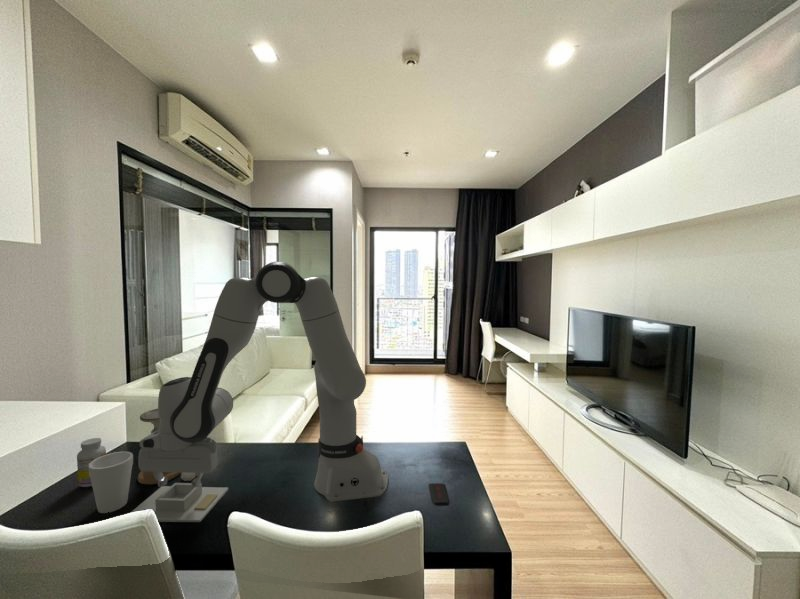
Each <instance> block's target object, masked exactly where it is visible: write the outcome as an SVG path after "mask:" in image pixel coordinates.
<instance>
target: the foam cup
mask: <svg viewBox="0 0 800 599" xmlns="http://www.w3.org/2000/svg"><path fill="white" fill-rule="evenodd" d="M133 465H134V454H133V452H130V451H118V452H116V451H114V452H110V453H108V454H107V453H106V455H104V456H101V457H99V458H97V459H95V460H93V461H92V462H91V463H89V476H90V478H91V483H92V486H91V487H92V491H93V496H94V500H95V504H96V505H95V506H96V509H97V512H98V513H100V514H108V512H109V513H113V512H115V511H117V510H120V509H121V508H123V507H125V506H126V504H128V499H129V492H130V484H131V476H132V469H133Z"/></svg>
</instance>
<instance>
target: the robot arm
mask: <svg viewBox="0 0 800 599" xmlns="http://www.w3.org/2000/svg"><path fill="white" fill-rule="evenodd" d="M267 302H271V303H273V304H275V303H276V304H295V306H296V308H297V310H298V313H299V317H300V320H301V323H302V327H303V329H304V332H305V336H306V339H307V341H308V342H307V343H308V346H309V347H310V350H311V352H312V353H313V356H314V358H315V363H314V367H313V370H314V375H315V386H316V388H315V389H316V394H317V395H316V396H317V404H318V411H319V413H318V414H319V438H318V442H317V454H318V466H317V470H316V472H317V473H316V476H315V480H314V483H313V484H314V485H313V486H314V487H313V488H314V489H315V491H316V492H317V493H318V494H321V495H322V496H324V497H325V499H326V500H327V501H328V502H329V503H330V502H340V501H349V500H350V501H351V500H357V499H364V498H365V499H368V498H376V497H380V496H382V495H383V494H384V493H385V492H386V490H387V489H388V486H389V475H388V472H387V471H386V469H384V468H381V463H380V460H379V458H378V457H377V456H376V455H375V454H374V453H372V452H371V451H369V450H368V449H366V448H365V447H364V438H363V437H364V436H363V435H361V437H360V436H359V435H358V434H357V416H358V415H357V414H358V413H357V408H356V405H355V400H356V399H358V398H360V397H361V396H362V394H363V393H364V392H365V389H366V386H367V379H366V374H364V372H363V370H362V367H361V366H360V363H359V360H358V359H357V356H356V353H355V351H354V349H353V347H352V344H351V343H350V340H349V339H348V338H349V337H348V335H347V333H346V329H345V326H344V324H343V320H342V316H341V312H340V309H339V305H338V303H337V300H336V298H335V295H334V293H333V291H332V289H331V287H330V284H329V283H328V281H327V280H326V279H324V278H322V277H320V276H319V277H318V276H311V277H307V278H306V277H305V278H304V277H302V276H301V275H300V274H299V273H298V271H297V270H296V269H295V268H294V267H293V266H292V265H291V264H289V263H287V262H284V261H272V262H269V263H266V264H264V265H263V266H262V267H261V268H260V269H259V270H258V271H257V274H256V277H254V278H249V277H243V276H239V277H238V276H237V277H234V278H233V277H232V278H231V279H229V280H228V281H226V283H225V285H224V286H223V287H222V290H221V292H220V294H219V297H218V299H217V303H216V305H215V308H214V311H213V315H212V318H211V322H210V325H209V328H208V332H207V335H206V338H205V341H204V343H203V347H202V349H201V352H200V354H199V356H198V359H197V360H196V363H195V367H194V369H193V371H192V375H191V377H190V376H184V377H183V376H182V377H179V378H176V379H172V380H170V381H167V382H165V383H163V384H162V386H161V387H160V389H159V392H158V398H157V400H158V401H157V409H158V416H159V418H160V425H159V430H158V431H155V432H154V433H152V434H151V433H150V434H148V435H147V436H145V437H143V438H142V439H140V441H139V447H140V449H139V452H138V457H137V458H138V460H137V462H138V463H137V464H138V468H139V470H140V472H141V471H142V472H153V475H154V477H155V478H156V480H157V481H158V484H157V486H158V487H162V486H167V485H168V481H167V477H164V475H163V473H162V472H186V473H195V477H194V479H193V480H191V483H192V487H198V486H199V485H200V484H201V483H202V482H201V480H202V477H203V475H204V474H210V473H211V472H212V471H213V470H215V468H216V467H217V466H218V463H219V461H218V460H219V459H218V453H217V452H218V451H217V443H216V441H215V439H212V438H211V437H209V435H210V434H211V433H212V432H213V430H215V428H216V427H217V426H218V425H220V424H221V423H222V422H223V421H224V420H225V419H226V418H227V417H228V416H229V415H230V414H231V412H232V410H233V408H234V399H233V397H232V395H231V394H230V392H229V391H228V390H226V389H224V388H222V387H219V384H220V381H221V378H222V375H223V373H224V371H225V369H226V368H227V366H228V365H229V363H230V362H231V361H232V360H233V359H234V358H235V357H236V356H237V355H238V353H240V352H241V351H243V349H244V348H246V347H247V346H248V344H249V342H250V340H251V338H252V337H253V335H254V333H255V330H256V326H257V323H258V320H259V315H260V312H261V309H262V308H263V305H264V304H265V303H267Z"/></svg>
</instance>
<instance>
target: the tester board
mask: <svg viewBox="0 0 800 599" xmlns="http://www.w3.org/2000/svg"><path fill="white" fill-rule="evenodd" d="M228 491H229V487H220V486H219V487H215V486H214V487H213V486H203V483H202V482H201V484H200V485H199V486H198V487H192V482H191V483H190V482H175V483H173V484H171V485H170V486H169V485H165V486H160V487H159V488H158V489H156V490H155V491H154V492H153V493H152V494H151V495H150V496H148V497H146V499H145V500H144V501H142V502H141V503H140V504H139V505H138V506H137V507H136V508H134V509H133V510H132V511H131V512H134V511H138V510H144V509H153V510H154V511H155V514H156V515H157V518H158V521H159V522H158V523H200V522H202V520H204V518H205V517H207V515H208V514H209V512H210V511H211V510H213V508H214V507H215V505H217V503H218V502H219V501H220V500H221V499H222V498H223V497H224V496H225V495H226V493H227V492H228Z"/></svg>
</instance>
